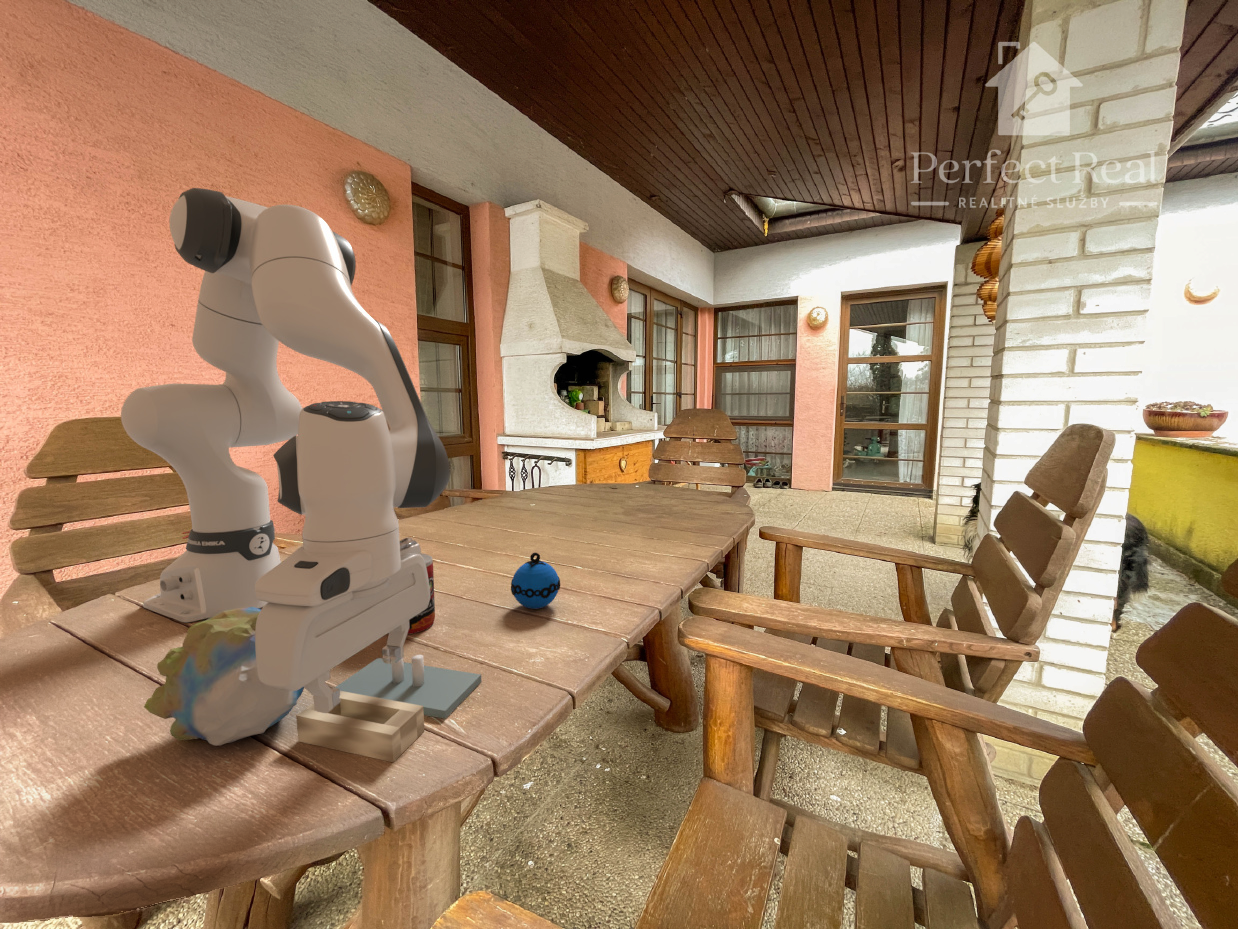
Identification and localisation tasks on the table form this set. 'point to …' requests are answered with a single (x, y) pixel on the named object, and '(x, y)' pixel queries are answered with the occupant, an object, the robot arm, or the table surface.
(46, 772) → the table surface
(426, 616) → the canned food
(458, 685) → the boss board
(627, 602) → the table surface
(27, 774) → the table surface
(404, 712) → the beige wooden rectangular frame
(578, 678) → the table surface
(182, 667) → the decorative rock
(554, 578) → the ornament
